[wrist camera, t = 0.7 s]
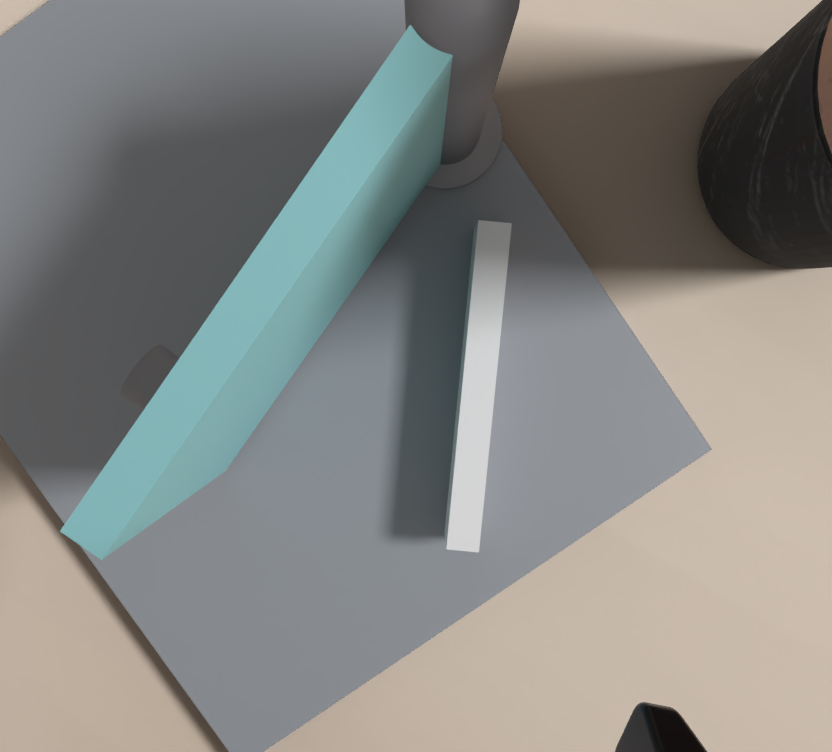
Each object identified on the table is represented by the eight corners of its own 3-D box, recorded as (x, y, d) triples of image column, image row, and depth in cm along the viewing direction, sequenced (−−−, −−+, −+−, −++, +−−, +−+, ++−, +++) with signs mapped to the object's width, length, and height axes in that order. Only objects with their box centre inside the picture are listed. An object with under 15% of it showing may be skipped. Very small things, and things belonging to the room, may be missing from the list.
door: (411, 61, 25) (405, -119, 15) (494, 121, 25) (542, -18, 15) (159, 424, 26) (-8, 484, 16) (240, 481, 26) (126, 577, 16)
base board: (246, 751, 28) (225, 802, 25) (-167, 179, 27) (-241, 160, 24) (711, 438, 27) (747, 451, 24) (305, -163, 26) (290, -227, 23)
